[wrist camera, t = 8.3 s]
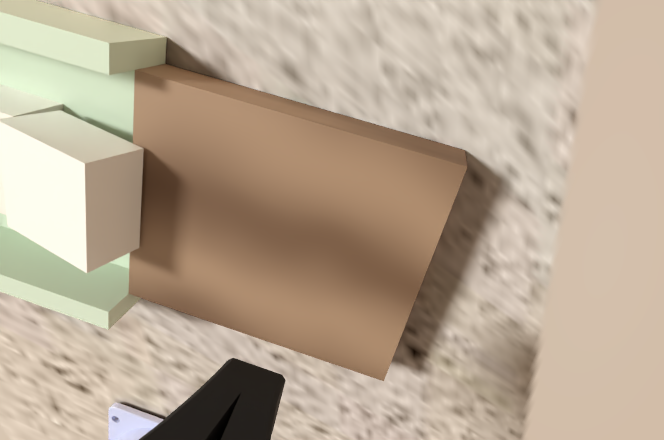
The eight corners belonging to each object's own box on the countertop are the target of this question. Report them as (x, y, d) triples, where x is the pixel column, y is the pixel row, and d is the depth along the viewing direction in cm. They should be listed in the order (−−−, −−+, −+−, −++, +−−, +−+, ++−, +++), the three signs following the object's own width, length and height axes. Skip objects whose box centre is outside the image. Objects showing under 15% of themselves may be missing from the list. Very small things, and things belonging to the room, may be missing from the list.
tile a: (139, 248, 19) (86, 273, 17) (64, 207, 21) (7, 225, 18) (143, 148, 17) (84, 163, 15) (60, 110, 19) (-5, 119, 16)
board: (388, 350, 21) (383, 381, 20) (153, 271, 22) (128, 293, 21) (464, 150, 17) (467, 167, 15) (165, 63, 18) (134, 69, 16)
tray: (152, 287, 23) (108, 329, 20) (-57, 216, 24) (-128, 246, 21) (166, 37, 17) (108, 43, 14) (-104, -40, 19) (-211, -49, 16)
